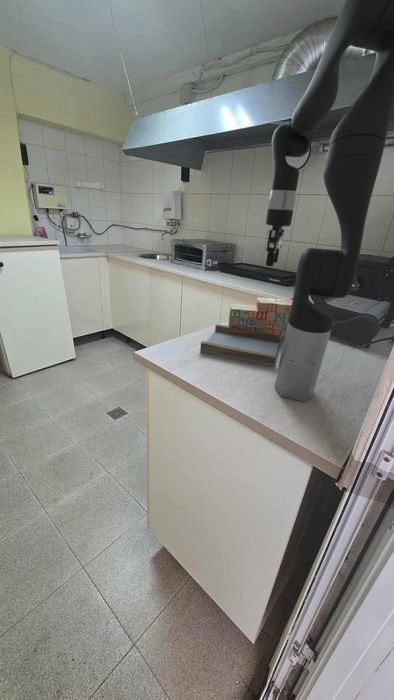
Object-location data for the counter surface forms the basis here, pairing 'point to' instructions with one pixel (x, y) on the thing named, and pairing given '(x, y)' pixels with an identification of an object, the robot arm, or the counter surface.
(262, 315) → the stack of blocks
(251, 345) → the tray
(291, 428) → the counter surface
